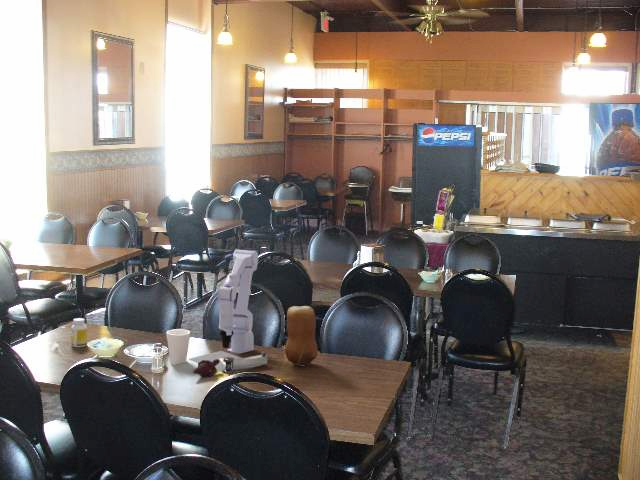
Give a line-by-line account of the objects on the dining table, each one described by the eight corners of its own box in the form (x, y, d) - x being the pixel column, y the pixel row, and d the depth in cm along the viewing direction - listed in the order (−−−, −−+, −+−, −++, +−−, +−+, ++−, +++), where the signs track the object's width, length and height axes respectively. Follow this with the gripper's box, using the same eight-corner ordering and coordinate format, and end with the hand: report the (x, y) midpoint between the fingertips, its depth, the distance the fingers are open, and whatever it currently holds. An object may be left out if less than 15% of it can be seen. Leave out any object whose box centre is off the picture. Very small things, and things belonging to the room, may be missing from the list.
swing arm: (226, 371, 305) (226, 360, 305) (221, 368, 308) (221, 358, 308) (268, 364, 317) (268, 353, 316) (262, 361, 320) (263, 351, 319)
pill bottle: (90, 345, 338) (90, 319, 336) (78, 348, 332) (78, 322, 331) (80, 342, 341) (79, 316, 340) (68, 345, 336) (67, 319, 334)
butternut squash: (295, 358, 331) (297, 300, 327) (323, 364, 324) (325, 305, 320) (277, 366, 319) (279, 306, 315) (305, 372, 312) (308, 312, 309)
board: (221, 352, 335) (221, 350, 335) (262, 366, 318) (262, 365, 318) (187, 360, 322) (187, 359, 322) (229, 375, 305) (229, 374, 305)
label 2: (236, 367, 313) (236, 366, 313) (226, 368, 312) (226, 367, 312) (231, 363, 319) (232, 361, 319) (222, 363, 317) (222, 362, 317)
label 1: (232, 363, 319) (232, 361, 319) (222, 363, 317) (222, 362, 317) (228, 358, 324) (228, 357, 324) (218, 359, 323) (218, 358, 323)
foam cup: (184, 367, 313) (184, 336, 311) (162, 365, 315) (163, 334, 313) (192, 360, 322) (193, 330, 320) (171, 358, 324) (172, 328, 322)
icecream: (202, 368, 293) (227, 361, 306) (188, 359, 297) (213, 353, 310) (198, 384, 295) (222, 377, 308) (183, 375, 298) (208, 369, 311)
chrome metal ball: (228, 370, 312) (228, 359, 311) (236, 373, 308) (237, 362, 308) (219, 372, 308) (219, 362, 307) (227, 375, 305) (227, 364, 304)
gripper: (239, 319, 312) (238, 352, 314) (232, 310, 326) (232, 342, 328) (221, 320, 310) (221, 353, 312) (216, 311, 324) (215, 343, 326)
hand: (225, 347), depth 320 cm, fingers closed
